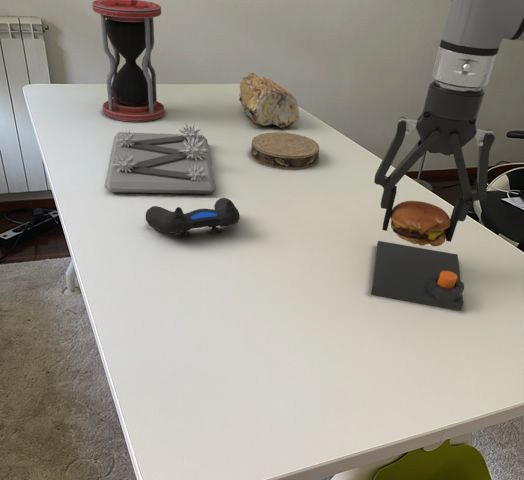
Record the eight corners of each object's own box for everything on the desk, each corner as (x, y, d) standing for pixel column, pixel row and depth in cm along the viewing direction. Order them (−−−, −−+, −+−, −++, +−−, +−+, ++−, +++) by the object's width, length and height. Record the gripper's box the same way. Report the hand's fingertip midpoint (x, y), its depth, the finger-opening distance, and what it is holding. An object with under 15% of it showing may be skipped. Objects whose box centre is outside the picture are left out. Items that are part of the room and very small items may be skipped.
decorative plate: (115, 141, 129) (112, 110, 125) (206, 144, 133) (207, 113, 128) (105, 195, 107) (101, 158, 102) (215, 197, 110) (216, 161, 106)
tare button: (453, 281, 86) (457, 272, 85) (454, 290, 84) (458, 280, 83) (436, 278, 87) (440, 269, 85) (437, 287, 85) (440, 277, 83)
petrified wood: (231, 106, 157) (240, 68, 152) (273, 116, 162) (283, 80, 157) (250, 126, 143) (260, 85, 137) (295, 136, 148) (307, 97, 142)
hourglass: (177, 115, 149) (175, 7, 133) (129, 126, 139) (120, 11, 123) (138, 100, 156) (132, -4, 140) (90, 110, 146) (77, -1, 131)
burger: (406, 215, 95) (412, 190, 92) (455, 235, 90) (464, 209, 87) (375, 233, 89) (382, 206, 86) (427, 255, 84) (435, 228, 81)
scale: (455, 261, 97) (460, 246, 95) (461, 311, 85) (467, 295, 83) (376, 247, 99) (379, 232, 97) (370, 295, 86) (374, 278, 84)
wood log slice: (305, 174, 123) (307, 161, 121) (240, 159, 127) (241, 146, 125) (325, 153, 135) (327, 140, 133) (265, 140, 138) (266, 128, 137)
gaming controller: (147, 241, 99) (161, 237, 90) (141, 208, 98) (154, 201, 89) (233, 228, 105) (253, 223, 96) (228, 198, 104) (248, 190, 95)
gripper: (376, 79, 74) (346, 230, 88) (546, 103, 71) (488, 255, 85) (378, 67, 80) (350, 211, 94) (536, 89, 77) (483, 233, 91)
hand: (416, 232), depth 90 cm, fingers closed on burger, 9 cm apart
